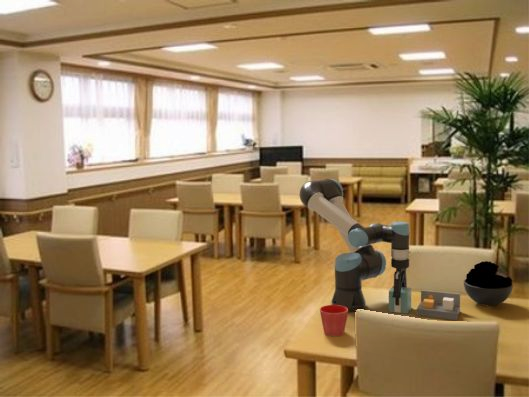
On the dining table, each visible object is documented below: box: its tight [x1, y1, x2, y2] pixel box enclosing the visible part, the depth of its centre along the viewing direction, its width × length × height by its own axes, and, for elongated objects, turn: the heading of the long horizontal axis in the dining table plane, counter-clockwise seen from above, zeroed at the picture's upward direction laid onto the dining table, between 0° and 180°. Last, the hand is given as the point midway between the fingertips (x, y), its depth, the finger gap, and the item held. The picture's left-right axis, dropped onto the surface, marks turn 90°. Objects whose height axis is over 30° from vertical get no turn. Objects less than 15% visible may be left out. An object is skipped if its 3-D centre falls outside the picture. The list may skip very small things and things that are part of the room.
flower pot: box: [319, 304, 349, 337], centre depth 212 cm, size 11×11×10 cm
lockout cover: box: [388, 285, 412, 314], centre depth 236 cm, size 8×8×9 cm
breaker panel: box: [416, 289, 461, 321], centre depth 230 cm, size 16×12×8 cm
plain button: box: [443, 297, 454, 311], centre depth 228 cm, size 4×4×5 cm
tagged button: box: [423, 299, 434, 308], centre depth 231 cm, size 4×4×5 cm
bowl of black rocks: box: [463, 260, 514, 307], centre depth 239 cm, size 20×20×19 cm
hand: (400, 308), depth 237 cm, fingers open, 9 cm apart
